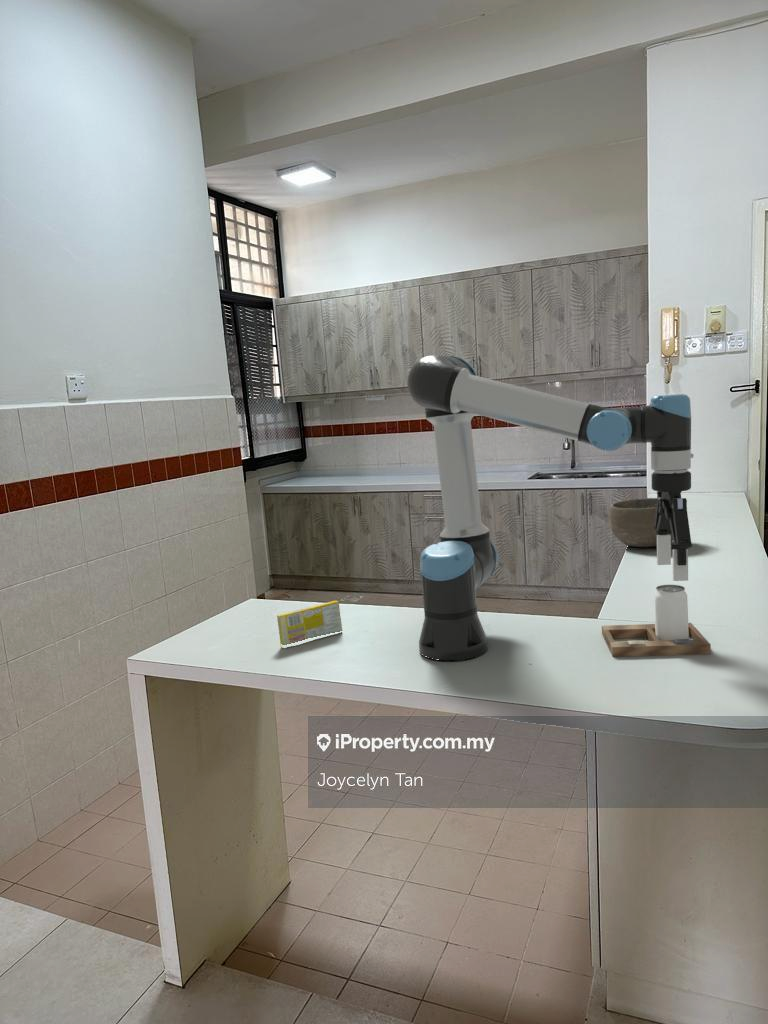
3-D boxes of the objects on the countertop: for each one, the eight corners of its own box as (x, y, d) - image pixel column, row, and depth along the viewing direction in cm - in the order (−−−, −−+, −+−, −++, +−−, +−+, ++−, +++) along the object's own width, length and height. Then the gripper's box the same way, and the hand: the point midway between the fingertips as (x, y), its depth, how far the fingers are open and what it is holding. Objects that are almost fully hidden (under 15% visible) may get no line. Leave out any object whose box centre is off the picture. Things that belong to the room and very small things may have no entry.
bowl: (622, 537, 259) (621, 497, 257) (692, 539, 245) (691, 497, 243) (600, 550, 240) (598, 507, 238) (675, 554, 226) (673, 508, 224)
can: (691, 647, 145) (690, 591, 143) (658, 648, 146) (656, 592, 144) (685, 637, 151) (683, 583, 149) (653, 638, 152) (651, 584, 151)
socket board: (612, 656, 144) (612, 645, 143) (602, 634, 157) (601, 624, 157) (710, 653, 141) (710, 642, 140) (691, 631, 154) (690, 620, 154)
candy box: (339, 631, 176) (335, 599, 175) (343, 633, 175) (340, 601, 173) (280, 647, 168) (276, 614, 167) (283, 649, 166) (280, 616, 165)
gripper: (709, 476, 130) (709, 587, 134) (674, 464, 155) (675, 558, 158) (666, 478, 132) (667, 588, 135) (639, 466, 156) (640, 559, 159)
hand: (671, 572), depth 146 cm, fingers open, 13 cm apart
